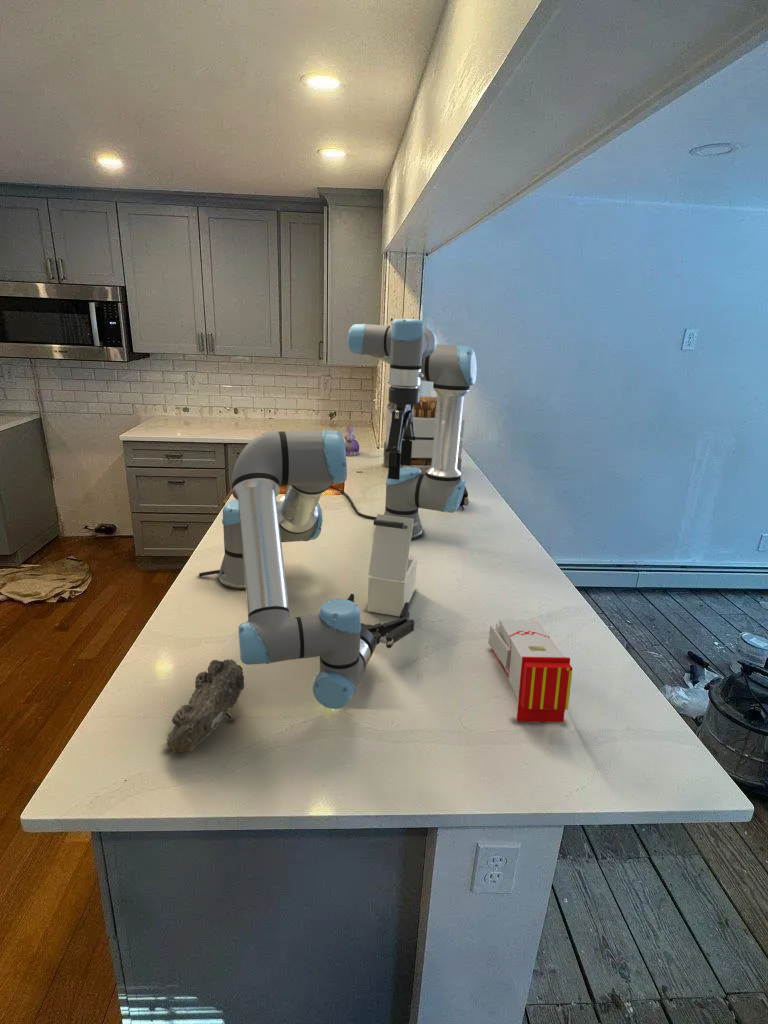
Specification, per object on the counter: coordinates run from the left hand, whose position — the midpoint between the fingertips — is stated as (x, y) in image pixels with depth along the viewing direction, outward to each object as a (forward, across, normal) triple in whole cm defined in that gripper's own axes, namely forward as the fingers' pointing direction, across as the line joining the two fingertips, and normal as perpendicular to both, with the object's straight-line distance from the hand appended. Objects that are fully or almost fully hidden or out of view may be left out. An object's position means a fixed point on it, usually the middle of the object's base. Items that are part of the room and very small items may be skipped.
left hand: (379, 602), depth 137 cm
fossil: (-40, -22, -8) cm, 46 cm away
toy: (-10, +35, -8) cm, 37 cm away
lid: (+12, 0, +10) cm, 15 cm away
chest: (+16, 0, -7) cm, 17 cm away
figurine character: (+101, +8, -7) cm, 102 cm away
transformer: (+144, -16, -7) cm, 145 cm away
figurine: (+166, -58, -7) cm, 176 cm away
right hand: (+17, 0, +28) cm, 33 cm away
